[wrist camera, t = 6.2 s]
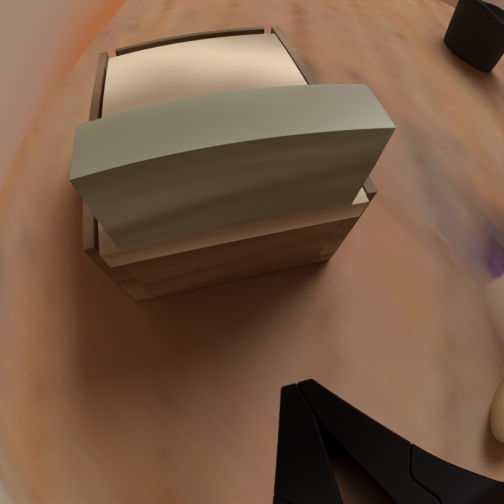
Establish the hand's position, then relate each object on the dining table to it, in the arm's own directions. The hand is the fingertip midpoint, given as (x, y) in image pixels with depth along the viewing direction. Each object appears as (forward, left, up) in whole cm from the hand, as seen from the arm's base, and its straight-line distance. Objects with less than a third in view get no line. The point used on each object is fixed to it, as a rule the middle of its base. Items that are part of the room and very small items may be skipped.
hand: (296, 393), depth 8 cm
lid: (+11, 0, -2) cm, 12 cm away
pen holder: (+31, -40, -8) cm, 51 cm away
